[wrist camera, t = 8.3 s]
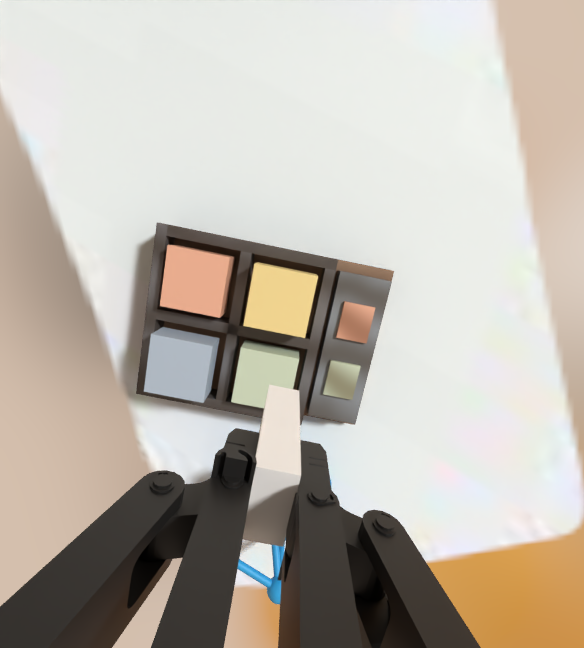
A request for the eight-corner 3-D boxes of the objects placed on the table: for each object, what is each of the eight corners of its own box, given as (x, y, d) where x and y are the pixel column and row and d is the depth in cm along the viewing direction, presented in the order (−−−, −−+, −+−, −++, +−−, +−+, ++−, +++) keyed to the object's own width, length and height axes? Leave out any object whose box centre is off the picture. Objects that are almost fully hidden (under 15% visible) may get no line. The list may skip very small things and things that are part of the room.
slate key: (163, 326, 35) (151, 334, 32) (219, 338, 36) (212, 346, 33) (155, 380, 37) (143, 391, 34) (210, 390, 37) (203, 402, 34)
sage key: (245, 339, 37) (240, 347, 34) (299, 350, 37) (299, 358, 34) (236, 390, 38) (231, 402, 35) (288, 400, 38) (287, 412, 35)
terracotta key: (178, 245, 35) (167, 244, 32) (235, 256, 35) (229, 257, 32) (170, 301, 36) (159, 305, 33) (225, 312, 36) (219, 317, 33)
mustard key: (258, 262, 34) (254, 263, 31) (316, 274, 34) (318, 276, 31) (247, 319, 35) (243, 325, 32) (304, 330, 35) (304, 338, 32)
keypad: (171, 225, 37) (156, 222, 33) (390, 270, 38) (401, 272, 34) (151, 379, 40) (136, 393, 37) (352, 418, 41) (358, 436, 37)
